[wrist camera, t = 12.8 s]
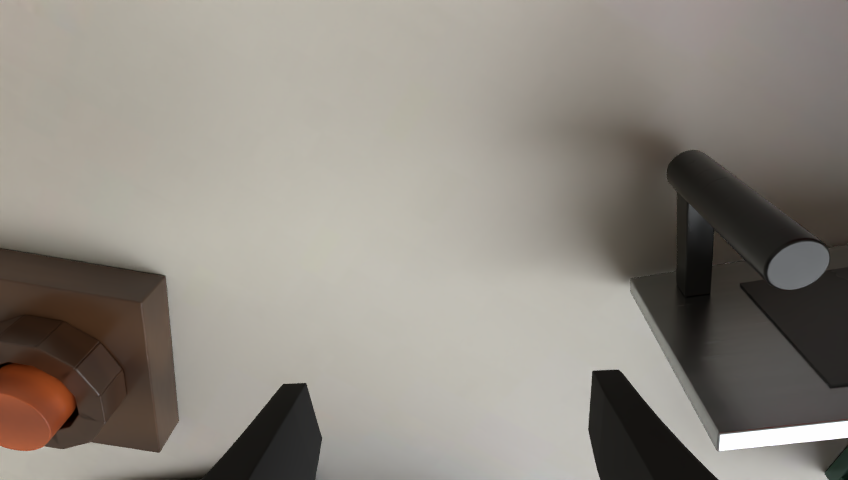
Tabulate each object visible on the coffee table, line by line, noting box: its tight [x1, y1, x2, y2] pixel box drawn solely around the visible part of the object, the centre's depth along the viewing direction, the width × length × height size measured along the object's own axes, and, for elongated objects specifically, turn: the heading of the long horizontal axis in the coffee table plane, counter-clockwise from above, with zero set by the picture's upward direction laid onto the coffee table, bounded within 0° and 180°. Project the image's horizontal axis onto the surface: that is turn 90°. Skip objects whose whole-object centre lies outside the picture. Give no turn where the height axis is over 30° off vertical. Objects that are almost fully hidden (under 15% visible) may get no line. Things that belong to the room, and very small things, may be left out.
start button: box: [0, 363, 76, 451], centre depth 22 cm, size 4×4×2 cm
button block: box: [0, 248, 179, 453], centre depth 24 cm, size 10×9×4 cm
